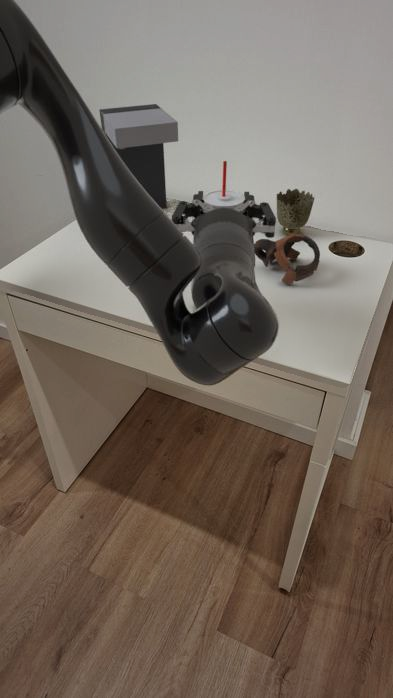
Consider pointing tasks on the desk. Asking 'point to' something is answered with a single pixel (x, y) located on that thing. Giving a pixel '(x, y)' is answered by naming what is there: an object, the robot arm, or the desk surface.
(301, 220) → the cup
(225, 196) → the beverage cup
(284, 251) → the leather belt
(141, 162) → the coffee machine
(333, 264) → the desk surface
